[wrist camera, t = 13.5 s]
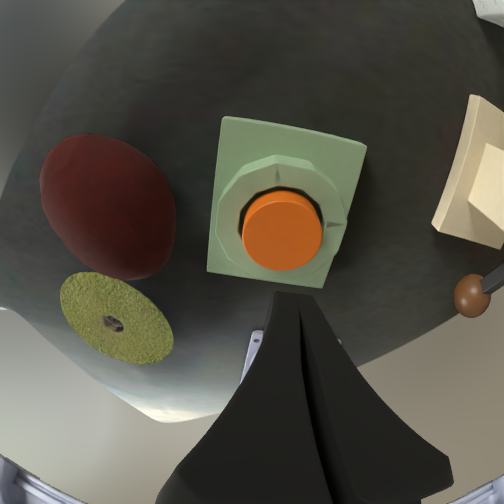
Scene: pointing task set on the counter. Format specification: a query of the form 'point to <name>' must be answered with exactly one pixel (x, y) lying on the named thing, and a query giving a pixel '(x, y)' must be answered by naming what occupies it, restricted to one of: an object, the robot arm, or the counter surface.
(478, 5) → the white packaging box
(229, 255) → the control block
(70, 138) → the potato
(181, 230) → the counter surface
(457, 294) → the lever
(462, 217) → the bracket
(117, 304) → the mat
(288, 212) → the button
